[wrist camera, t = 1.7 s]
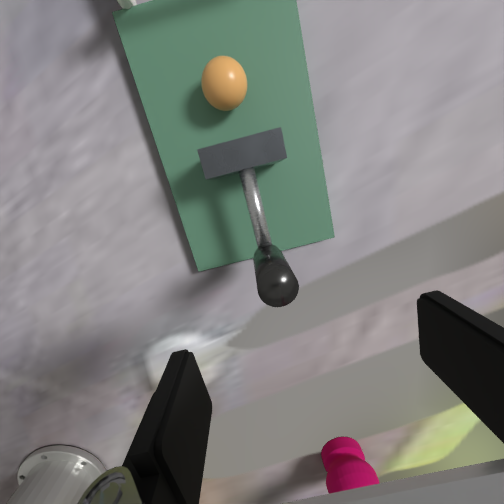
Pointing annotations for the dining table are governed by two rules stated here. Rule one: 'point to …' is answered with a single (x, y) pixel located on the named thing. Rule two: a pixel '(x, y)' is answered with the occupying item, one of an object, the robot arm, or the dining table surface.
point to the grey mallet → (256, 206)
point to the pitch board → (230, 118)
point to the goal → (127, 3)
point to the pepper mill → (346, 465)
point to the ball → (224, 83)
